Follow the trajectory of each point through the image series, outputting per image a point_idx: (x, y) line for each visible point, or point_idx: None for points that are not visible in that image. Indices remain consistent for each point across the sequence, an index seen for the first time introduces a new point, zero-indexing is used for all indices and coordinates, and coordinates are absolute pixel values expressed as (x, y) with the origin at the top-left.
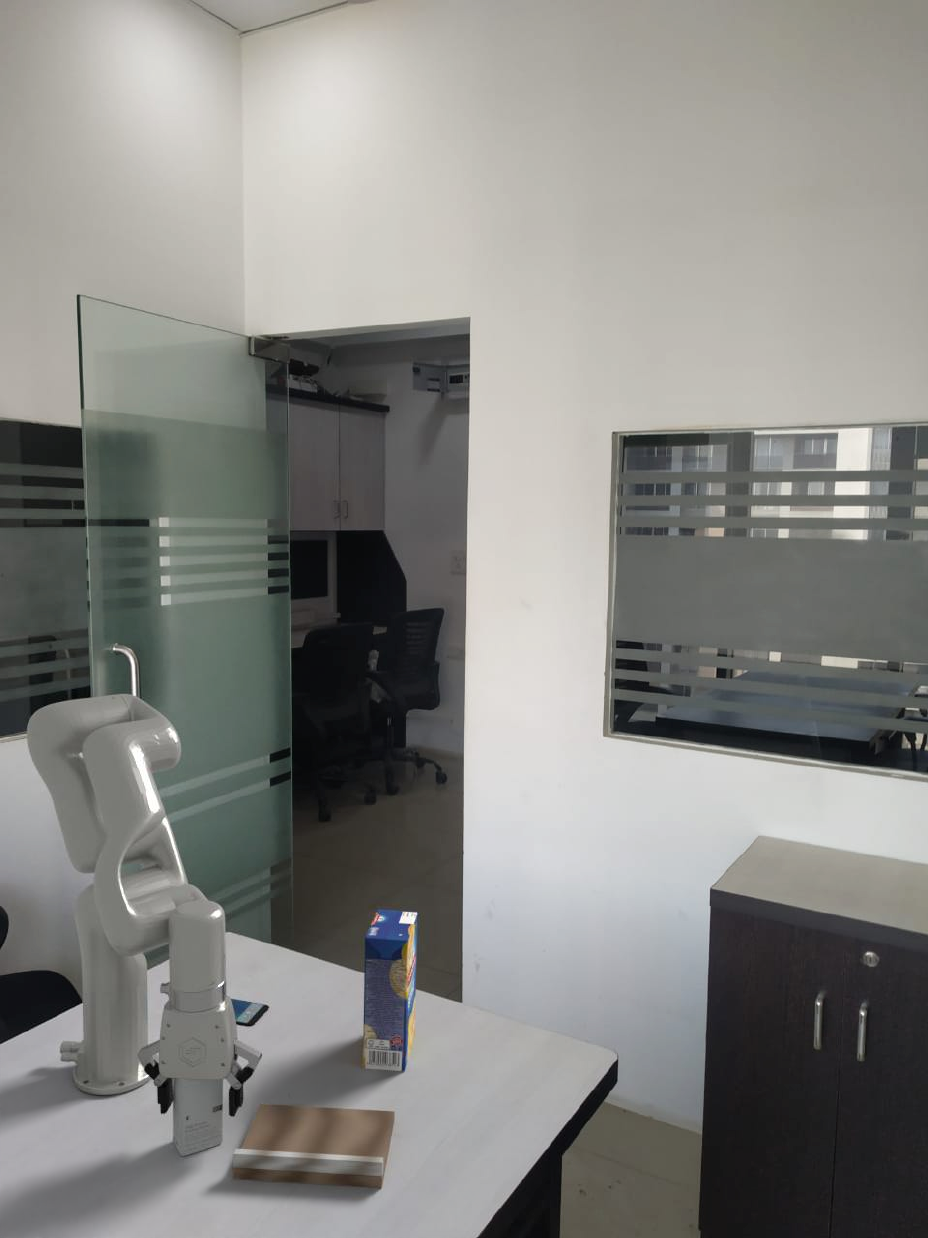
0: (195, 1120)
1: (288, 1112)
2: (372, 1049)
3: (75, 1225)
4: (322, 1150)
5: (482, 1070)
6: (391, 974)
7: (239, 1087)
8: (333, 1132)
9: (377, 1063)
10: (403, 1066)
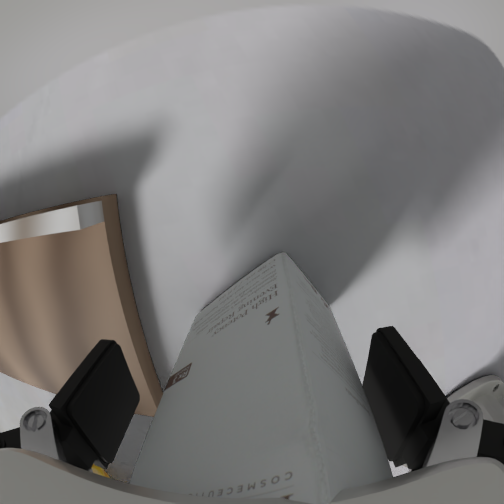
0: (243, 323)
1: None
2: None
3: (411, 21)
4: (2, 286)
5: (9, 421)
6: None
7: (30, 411)
8: (14, 334)
9: None
10: None
